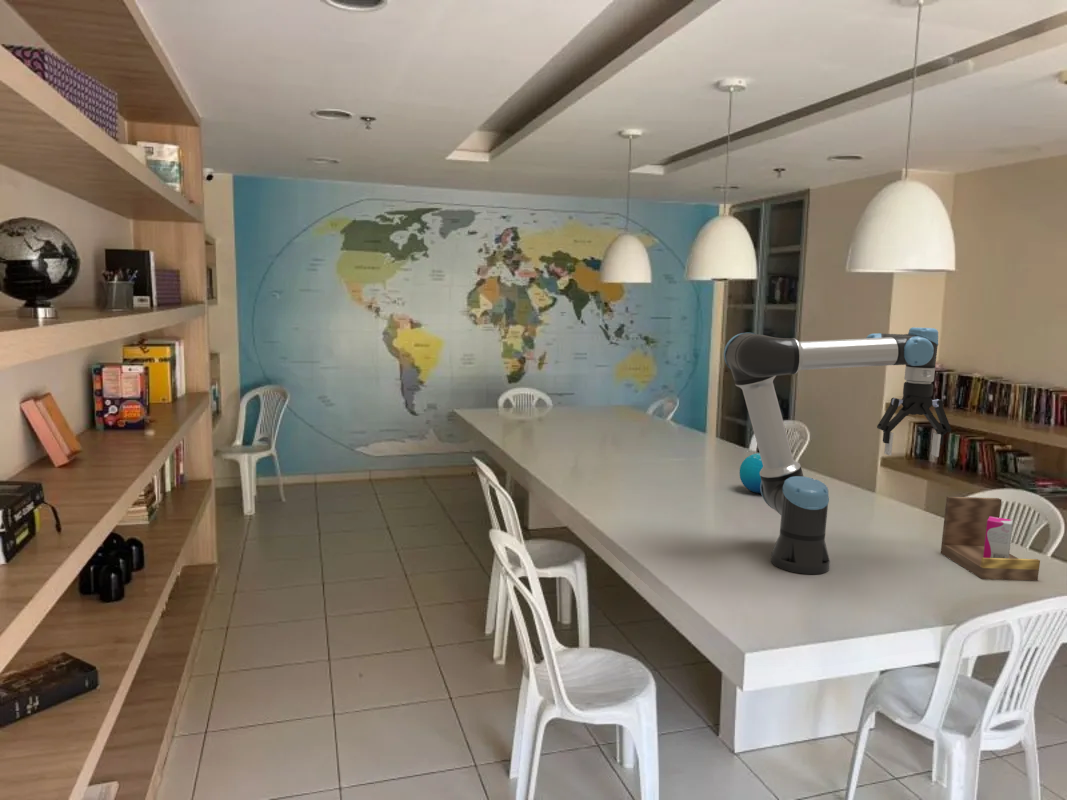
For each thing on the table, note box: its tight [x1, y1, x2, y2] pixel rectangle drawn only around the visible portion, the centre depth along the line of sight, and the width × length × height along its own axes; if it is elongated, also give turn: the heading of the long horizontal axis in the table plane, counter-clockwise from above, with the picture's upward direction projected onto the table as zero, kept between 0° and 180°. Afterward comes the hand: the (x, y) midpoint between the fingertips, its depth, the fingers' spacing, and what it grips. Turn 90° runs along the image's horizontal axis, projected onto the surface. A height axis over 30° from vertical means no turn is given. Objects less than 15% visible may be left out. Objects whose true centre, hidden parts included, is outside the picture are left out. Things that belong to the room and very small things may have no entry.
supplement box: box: [983, 516, 1014, 558], centre depth 203 cm, size 6×6×12 cm
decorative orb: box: [739, 452, 763, 494], centre depth 279 cm, size 15×15×15 cm
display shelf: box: [940, 496, 1041, 581], centre depth 206 cm, size 15×20×17 cm
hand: (911, 455), depth 214 cm, fingers open, 13 cm apart
